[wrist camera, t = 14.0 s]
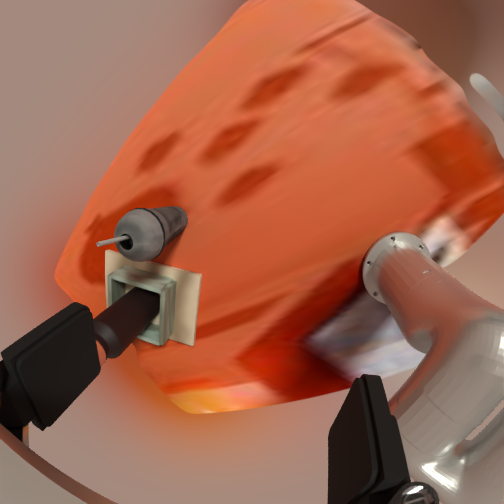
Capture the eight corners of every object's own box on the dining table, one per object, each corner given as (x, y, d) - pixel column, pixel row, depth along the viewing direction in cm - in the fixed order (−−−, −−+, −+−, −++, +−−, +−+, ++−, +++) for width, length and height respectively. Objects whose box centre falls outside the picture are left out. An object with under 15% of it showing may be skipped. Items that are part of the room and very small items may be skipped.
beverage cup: (175, 249, 49) (109, 295, 30) (149, 218, 48) (72, 248, 29) (204, 221, 47) (143, 257, 28) (175, 189, 46) (101, 205, 27)
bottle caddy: (202, 274, 49) (190, 287, 44) (194, 343, 54) (184, 361, 48) (108, 249, 51) (89, 258, 46) (109, 315, 56) (94, 328, 50)
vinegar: (156, 281, 50) (91, 337, 31) (166, 315, 52) (111, 379, 33) (127, 284, 52) (60, 335, 33) (138, 316, 53) (79, 374, 34)
